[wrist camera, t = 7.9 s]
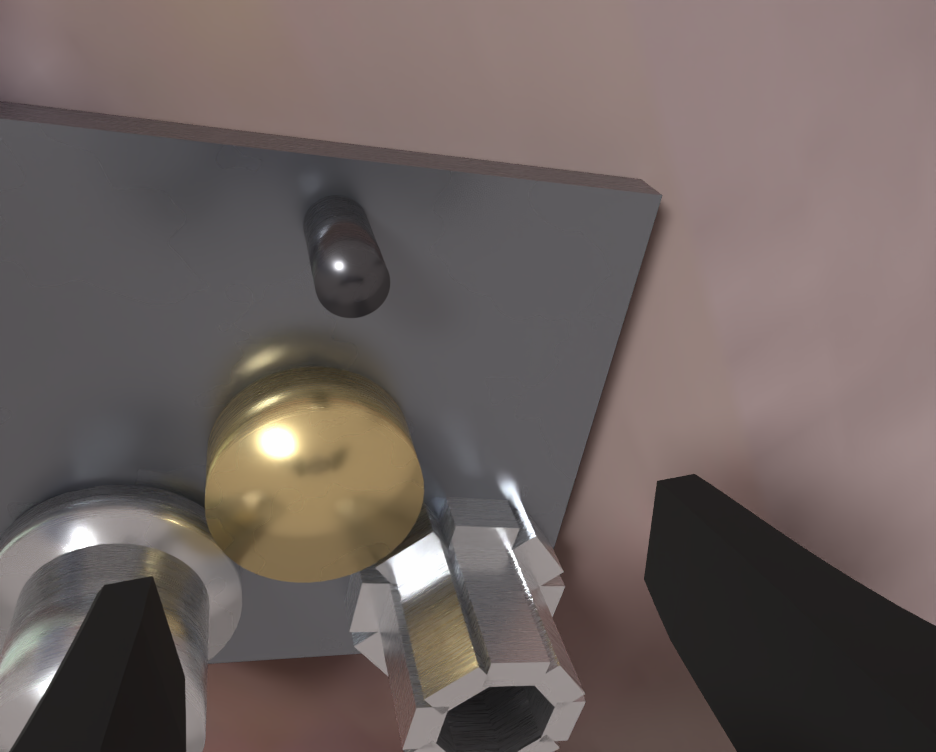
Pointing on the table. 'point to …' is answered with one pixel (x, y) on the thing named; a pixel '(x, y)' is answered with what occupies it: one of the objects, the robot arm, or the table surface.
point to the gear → (469, 632)
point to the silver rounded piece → (105, 562)
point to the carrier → (300, 339)
